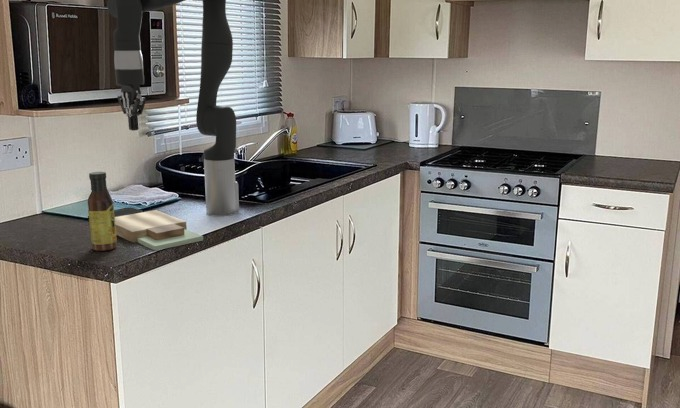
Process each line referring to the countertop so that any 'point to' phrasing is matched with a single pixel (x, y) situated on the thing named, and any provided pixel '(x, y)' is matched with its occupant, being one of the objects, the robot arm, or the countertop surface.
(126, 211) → the phone
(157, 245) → the sage mat
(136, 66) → the robot arm
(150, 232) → the brown wooden block
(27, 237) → the countertop surface
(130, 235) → the butcher block
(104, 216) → the sauce bottle
